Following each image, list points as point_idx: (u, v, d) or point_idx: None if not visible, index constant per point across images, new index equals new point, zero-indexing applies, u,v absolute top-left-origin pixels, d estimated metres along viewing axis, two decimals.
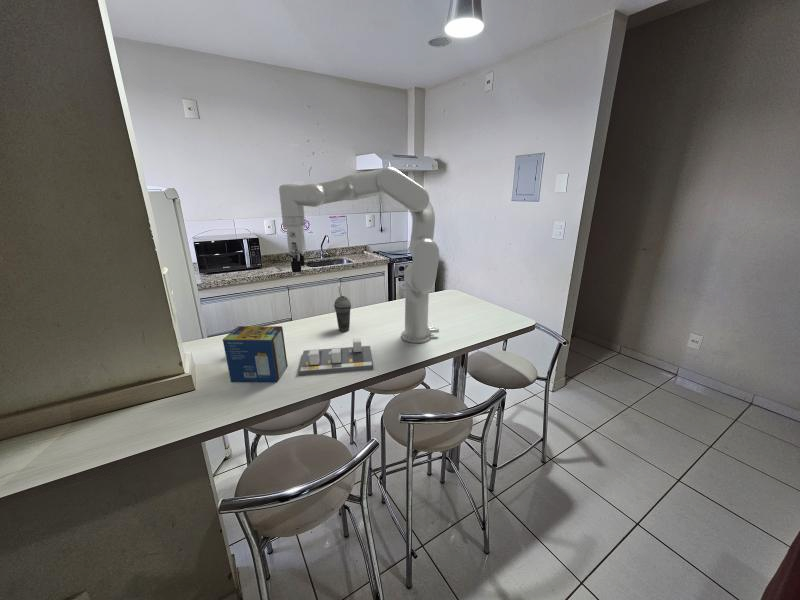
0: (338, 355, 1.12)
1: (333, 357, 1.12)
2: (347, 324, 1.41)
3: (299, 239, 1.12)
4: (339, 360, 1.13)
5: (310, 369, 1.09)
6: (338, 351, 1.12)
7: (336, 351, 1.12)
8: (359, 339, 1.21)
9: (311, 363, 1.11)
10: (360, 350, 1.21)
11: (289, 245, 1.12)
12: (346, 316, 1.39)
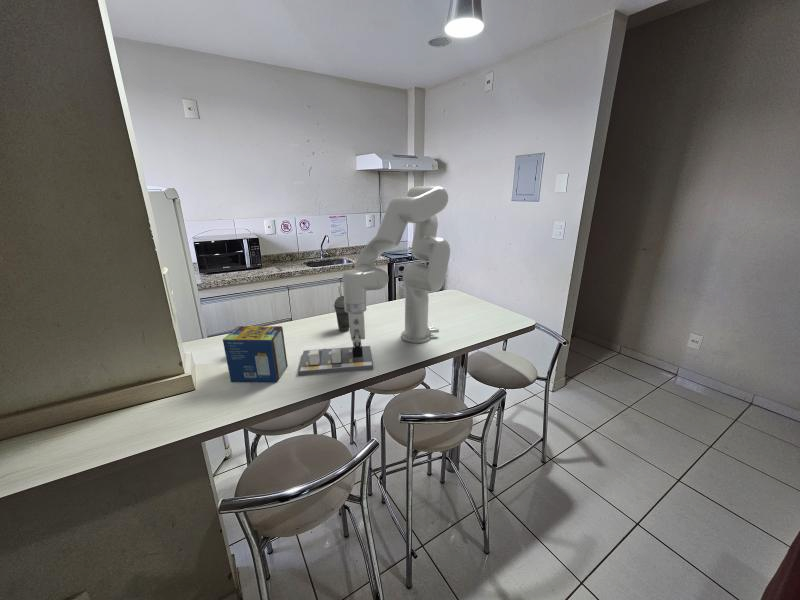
0: (338, 355, 1.12)
1: (333, 357, 1.12)
2: (347, 324, 1.41)
3: (362, 326, 1.10)
4: (339, 360, 1.13)
5: (310, 369, 1.09)
6: (338, 351, 1.12)
7: (336, 351, 1.12)
8: (359, 340, 1.20)
9: (311, 363, 1.11)
10: None
11: (352, 332, 1.10)
12: (346, 316, 1.39)
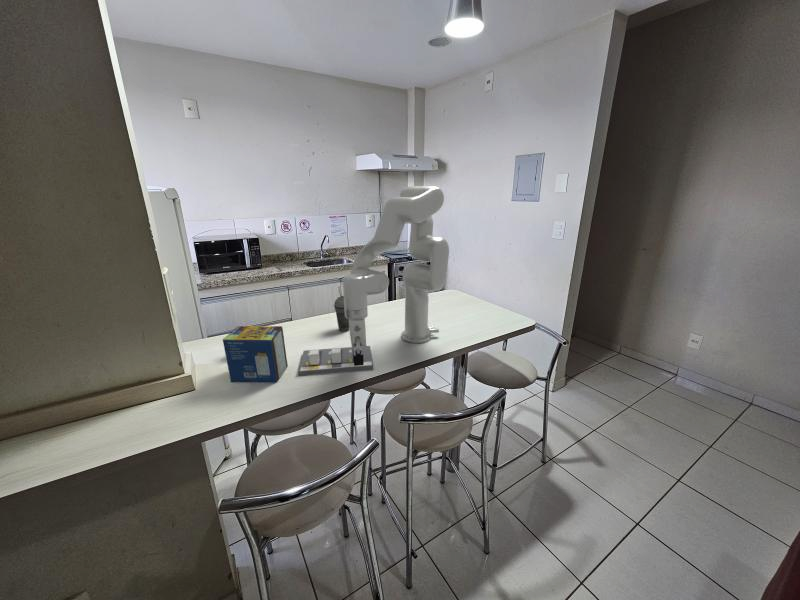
0: (338, 355, 1.12)
1: (333, 357, 1.12)
2: (347, 324, 1.41)
3: (363, 333, 1.04)
4: (339, 360, 1.13)
5: (310, 369, 1.09)
6: (338, 351, 1.12)
7: (336, 351, 1.12)
8: None
9: (311, 363, 1.11)
10: None
11: (352, 339, 1.04)
12: None
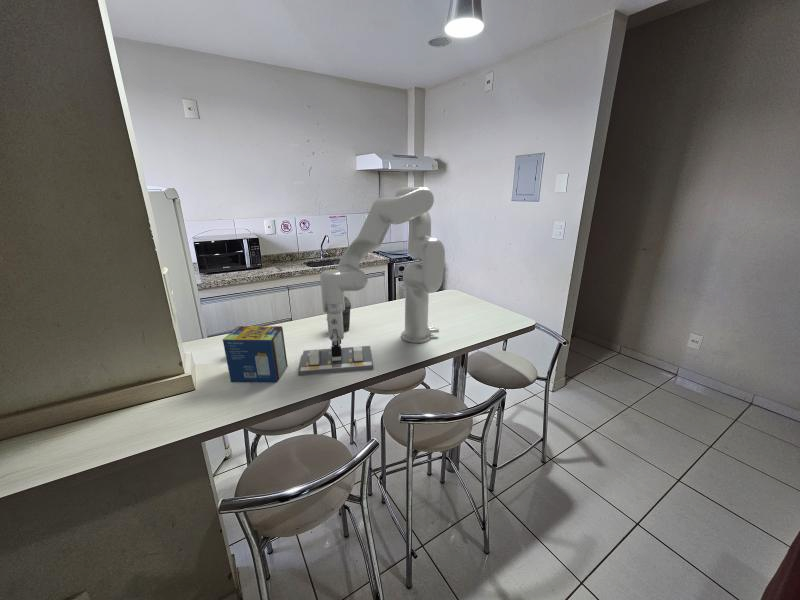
0: None
1: None
2: (347, 324, 1.41)
3: (340, 325, 1.10)
4: (339, 358, 1.14)
5: (310, 369, 1.09)
6: None
7: None
8: (360, 347, 1.15)
9: (311, 363, 1.11)
10: (361, 359, 1.14)
11: (330, 331, 1.10)
12: (346, 316, 1.39)
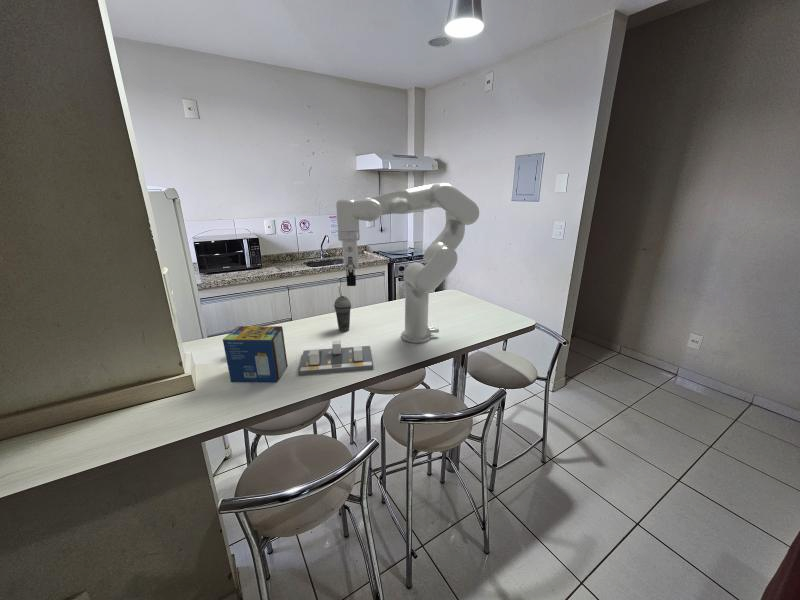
0: (338, 346, 1.18)
1: (334, 348, 1.18)
2: (347, 324, 1.41)
3: (355, 253, 1.13)
4: (339, 351, 1.19)
5: (310, 369, 1.09)
6: (338, 343, 1.19)
7: (336, 343, 1.19)
8: (360, 347, 1.15)
9: (311, 363, 1.11)
10: (361, 359, 1.14)
11: (345, 259, 1.13)
12: (346, 316, 1.39)
